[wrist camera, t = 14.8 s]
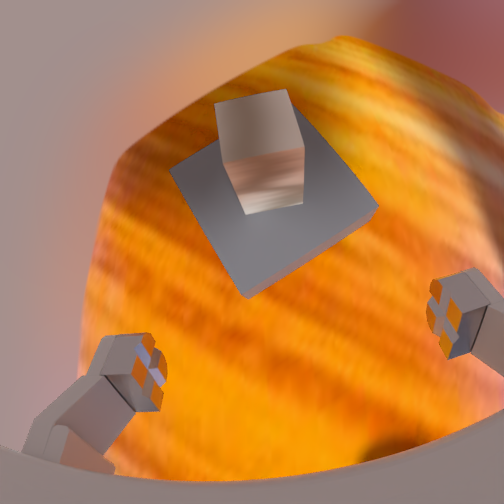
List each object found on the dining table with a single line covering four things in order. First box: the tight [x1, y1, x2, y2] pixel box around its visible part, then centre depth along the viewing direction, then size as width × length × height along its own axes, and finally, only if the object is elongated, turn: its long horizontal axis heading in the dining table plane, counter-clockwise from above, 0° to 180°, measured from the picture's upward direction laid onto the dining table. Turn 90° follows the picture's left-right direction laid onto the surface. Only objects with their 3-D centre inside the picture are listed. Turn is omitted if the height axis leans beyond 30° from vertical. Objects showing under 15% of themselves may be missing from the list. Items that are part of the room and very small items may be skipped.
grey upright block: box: [214, 89, 305, 215], centre depth 23 cm, size 5×5×9 cm
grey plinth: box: [169, 103, 379, 299], centre depth 29 cm, size 14×14×4 cm
